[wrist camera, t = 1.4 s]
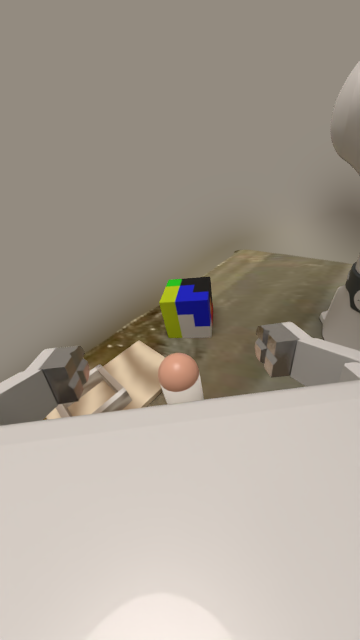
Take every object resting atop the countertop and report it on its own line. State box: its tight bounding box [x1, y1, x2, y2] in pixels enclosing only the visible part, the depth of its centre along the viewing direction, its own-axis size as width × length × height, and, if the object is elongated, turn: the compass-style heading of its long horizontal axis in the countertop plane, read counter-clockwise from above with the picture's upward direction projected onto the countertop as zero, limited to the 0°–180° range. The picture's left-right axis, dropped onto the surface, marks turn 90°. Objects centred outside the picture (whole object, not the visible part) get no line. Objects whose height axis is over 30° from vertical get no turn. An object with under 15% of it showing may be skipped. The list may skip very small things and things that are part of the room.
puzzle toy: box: [159, 277, 213, 338], centre depth 49 cm, size 10×10×10 cm
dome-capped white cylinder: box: [158, 353, 204, 404], centre depth 28 cm, size 5×5×14 cm
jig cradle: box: [46, 341, 165, 420], centre depth 38 cm, size 22×14×4 cm, turn 136°
